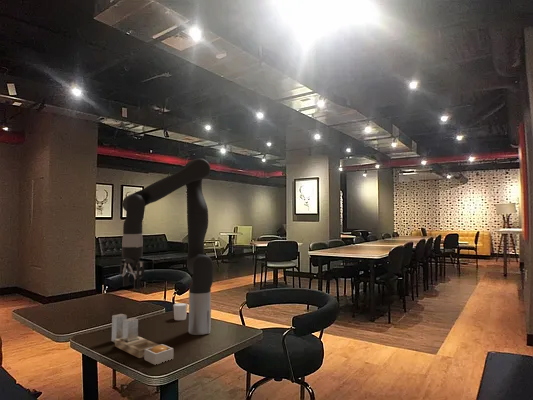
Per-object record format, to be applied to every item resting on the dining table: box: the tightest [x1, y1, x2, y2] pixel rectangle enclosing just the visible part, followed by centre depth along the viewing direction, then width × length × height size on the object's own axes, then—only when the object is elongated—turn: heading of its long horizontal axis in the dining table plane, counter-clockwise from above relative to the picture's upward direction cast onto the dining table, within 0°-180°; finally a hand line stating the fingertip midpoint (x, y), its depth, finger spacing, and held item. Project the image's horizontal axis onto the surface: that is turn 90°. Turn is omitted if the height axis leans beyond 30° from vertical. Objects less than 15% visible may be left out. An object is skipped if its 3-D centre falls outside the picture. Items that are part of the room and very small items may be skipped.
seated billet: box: [123, 317, 139, 343], centre depth 135 cm, size 4×4×10 cm
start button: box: [152, 344, 167, 353], centre depth 122 cm, size 5×5×2 cm
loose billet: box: [111, 313, 128, 343], centre depth 141 cm, size 4×4×10 cm
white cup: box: [172, 302, 188, 321], centre depth 173 cm, size 7×7×7 cm
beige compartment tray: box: [114, 335, 160, 359], centre depth 131 cm, size 18×8×2 cm, turn 49°
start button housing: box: [143, 343, 175, 366], centre depth 122 cm, size 7×7×4 cm
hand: (131, 287), depth 136 cm, fingers open, 8 cm apart
